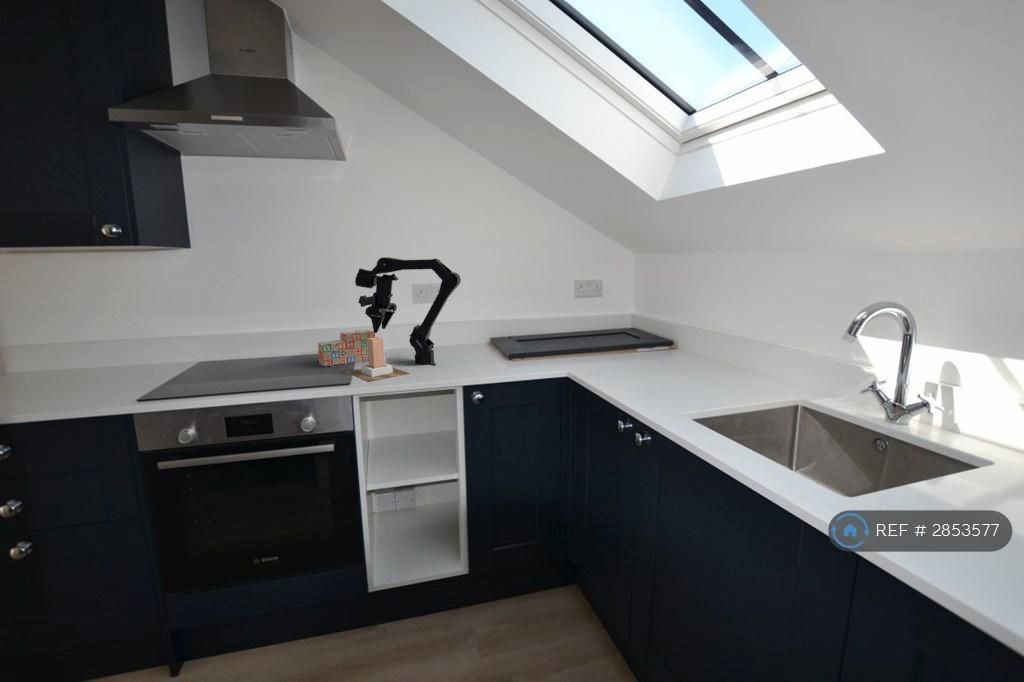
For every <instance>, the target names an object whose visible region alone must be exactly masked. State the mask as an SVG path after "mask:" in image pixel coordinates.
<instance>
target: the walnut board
mask: <svg viewBox="0 0 1024 682" xmlns="http://www.w3.org/2000/svg"><path fill="white" fill-rule="evenodd" d="M392 367H393V366H392ZM345 373H346V374H347V375H350V376H353V377H355V378H358V379H360V380H362V381H365V382H367V383H371V382H377V381H382V380H385V379H390V378H395V377H400V376H405V375H406V376H407V375H409V374H411V373H410V372H408V371H405V370H401V369H399V368H397V367H393V373H389V374H384V375H379V376H373V377H371V376H369V375H366V374H364V373H362V368H359V369H352V370H348V371H345Z"/></svg>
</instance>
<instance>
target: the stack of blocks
mask: <svg viewBox="0 0 1024 682" xmlns="http://www.w3.org/2000/svg"><path fill="white" fill-rule="evenodd" d="M375 337H376V333H374V330H373V329H358V330H351V331H344V332H343V331H342V332H339V339H336V340H329V341H319V342H317V349H318V350H317V352H318V360H319V361H318V363H320V364H322V365H324V366H327V365H334V364H340V363H346V362H358V363H364V361H365V362H369V356H368V342H367V339H368V338H375ZM320 364H319V365H320Z"/></svg>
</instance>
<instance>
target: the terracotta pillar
mask: <svg viewBox="0 0 1024 682" xmlns="http://www.w3.org/2000/svg"><path fill="white" fill-rule="evenodd" d="M367 342H368V356H369V361H368V365H369V368H372V369H375V368H380V367H385V352H384V349H385V348H384V339H383V338H382V337H379V336H375V338H368V339H367Z"/></svg>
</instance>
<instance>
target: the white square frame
mask: <svg viewBox="0 0 1024 682" xmlns="http://www.w3.org/2000/svg"><path fill="white" fill-rule="evenodd" d="M384 363H385V362H384ZM361 369H362V373H364V374H366V375H369V376H371V377H373V376H379V375H384V374H389V373H393V365H390V364H389V363H385V367H380V368H375V369H372V368H369V364H364V365H361Z"/></svg>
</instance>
